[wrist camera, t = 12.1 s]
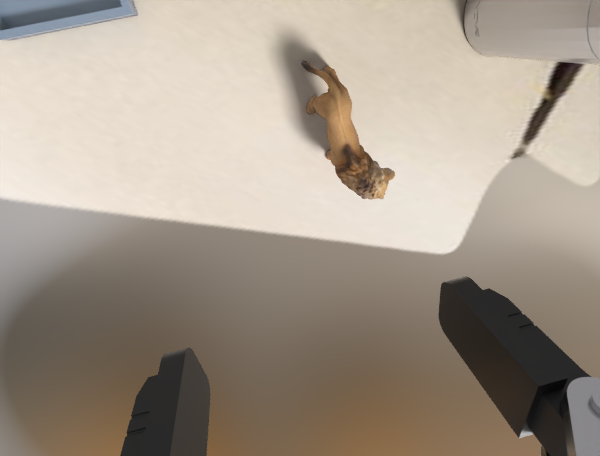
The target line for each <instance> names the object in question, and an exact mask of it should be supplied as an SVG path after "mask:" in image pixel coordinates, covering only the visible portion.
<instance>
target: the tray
mask: <svg viewBox="0 0 600 456" xmlns="http://www.w3.org/2000/svg"><path fill="white" fill-rule="evenodd" d="M136 15H138V13H137V10H136V7H135V5H134V2H133V0H0V40H15V39H20V38H25V37H30V36H35V35H40V34H45V33H50V32H55V31H61V30H66V29H71V28H76V27H81V26H86V25H91V24H96V23H101V22H106V21H111V20H116V19H121V18H126V17H131V16H136Z"/></svg>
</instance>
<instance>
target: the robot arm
mask: <svg viewBox="0 0 600 456" xmlns="http://www.w3.org/2000/svg"><path fill="white" fill-rule="evenodd" d="M464 27H465V32H466V37H467V39H468V41H469V43H470V45H471V46H472V47H473V49H474V50H476V51H477V52H478V53H480V54H482V55H486V56H493V57H506V58H516V59H529V60H542V61H555V62H569V63H582V64H595V65H600V0H467V3H466V8H465V14H464ZM439 321H440V325H441V327H442V329H443V331H444V333H445V335H446V336H447V338H448V339H449V341H450V342H451V343H452V345H453V346H454V347H455V349H456V350H457V352H458V353H459V355H460V356H461V357H462V359H463V360H464V361H465V363H466V364H467V366H468V367H469V369H470V370H471V371H472V373H473V374H474V376H475V377H476V379H477V380H478V381H479V383H480V384H481V386H482V387H483V388H484V390H485V391H486V393H487V394H488V395H489V397H490V398H491V400H492V401H493V402H494V404H495V405H496V407H497V408H498V409H499V411H500V412H501V414H502V415H503V417H504V418H505V419H506V421H507V422H508V424H509V425H510V426H511V428H512V429H513V431H514V432H515V433H516V435H517V436H518V438H521V437H525V436H528V435H531V434H534V435H535V436H536V438H537V439H538V440H539V442H540V443H541V444H542V445H541V456H600V379H599V378H594V377H591V376H589V375H588V374H587V373H585V372H584V371H583V370H582V369H581V368H580V367H579V366H578V365H577V364H576V363H575V362H574V361H573V360H572V359H571V358H569V357H568V356H567V355H566V354H565V353H564V352H563V351H562V350H561V349H560V348H559V347H558V346H557V345H556V344H555V343H554V342H553V341H552V340H551V339H549V337H547V336H546V335H545V334H544V333H543V332H542V331H541V330H540V329H539V328H538V327H537V326H534V324H533V322H532V321H531V320H530V319H529V318H527V316H526V315H523V314H522V313H521V311H520V310H519V309H518V308H517V307H516V306H515V305H514V304H513V303H512V302H511V301H510V300H509V299H508V298H506V297H504V296H502V295H500V294H498V293H497V292H495V291H493V290H491V289H485V290H482V289H481V288H480V287H479V286H478V285H477V284H476V283H475V282H474V281H473V280H472V279H471V278H469V277H462V278H458V279H455V280H451V281H447V282H443V283H442V285H441V293H440V305H439ZM209 410H210V386H209V381H208V378H207V375H206V374H205V372H204V370H203V368H202V366H201V364H200V363H199V361H198V359H197V357H196V355H195V353H194V352H193V350H192V349H191V348H186V349H182V350H178V351H174V352H170V353H166V354H164V355H163V357H162V359H161V363H160V368H159V372H158V375H156V376H152V377H148V379H147V380H146V382H145V383H144V385H143V387H142V388H141V390H140V391H139V393H138V395H137V396H136V400H135V404H134V408H133V411H132V415H131V416H132V419H131V420H130V423H129V426H128V430H127V437H125V441H124V444H123V448H122V452H121V456H206V454H207V440H208V425H209Z"/></svg>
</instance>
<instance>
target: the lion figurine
mask: <svg viewBox="0 0 600 456" xmlns="http://www.w3.org/2000/svg"><path fill="white" fill-rule="evenodd" d="M301 64H302V65H303V67H304V68H305V69H306V70H307V71H309V72H311V73H314V74H316V75H318V76H320V77H321V78H322V79H324V81H325V82H326V83H327V85H328V87H329V89H328V92H327V93H324V94H322V95H321V96H320V97H319V98H317V96H315V95H314V96H313V97H312V99H311V100H310V102H309V103H308V104H307V108H306V110H307V112H308V113H309V114H314V113H316V111H317V113H318V114H319V115H321V117H323V118H325V119H326V121H327V136H328V140H329V143H330V148H331V150H330V151H328V152H327V155H326V157H327V159H329V160H331V162H332V164H333V165H334V166H335V170H336V174H337V176H338V177H339V178H340V179H341V181H342V183H343V184H345V185H346V186H347V187H348V188H349V189H351V190H353V191H354V192H356V193H357V195H359V196H361V197H362V198H363V199H367V198H368V199H376V198H379V199H383V198H384V195H385V191H386V189H387V185H388V181H389V180H391V179H393V178H394V176H395V172H394V171H392V170H391V169H389V168H384V169H383V168H380V167H379V164H378V163H377V162H376V161H373V160H372V158H371V157H370V156H369V154H368V153H366V152H365V151H364V149H363V147H362V146H361V145H359V139H358V135H357V132H356V130H355V127H354V125H353V123H352V121H351V108H352V102H351V99H350V96H349V94H348V91H347V89H346V88H345V87H344V86H343V85H342V84H341V83H340V81H339V79H338V77H337V75H336V72H335V70H334V69H332V68H330V67H325V68H324V69H323V71H321V70H318V69H316V68H313V67H312V66H311V65H310V64H309V63H307V62H306V61H304V60H303V61H302V62H301Z"/></svg>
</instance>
